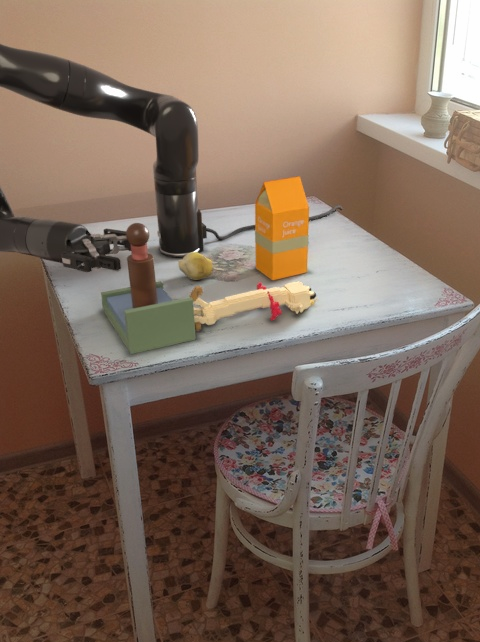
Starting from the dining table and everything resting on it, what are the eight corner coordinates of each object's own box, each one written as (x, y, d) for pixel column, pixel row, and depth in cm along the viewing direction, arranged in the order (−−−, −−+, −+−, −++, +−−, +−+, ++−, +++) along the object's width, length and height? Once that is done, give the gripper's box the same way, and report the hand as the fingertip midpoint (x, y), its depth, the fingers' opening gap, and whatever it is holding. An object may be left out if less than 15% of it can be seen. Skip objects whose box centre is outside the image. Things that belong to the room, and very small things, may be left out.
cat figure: (200, 343, 128) (326, 312, 134) (194, 300, 123) (324, 271, 129) (187, 319, 135) (306, 291, 142) (180, 278, 130) (304, 251, 137)
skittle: (153, 300, 131) (145, 217, 123) (161, 310, 128) (153, 225, 119) (129, 305, 130) (119, 221, 121) (136, 315, 126) (127, 229, 117)
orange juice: (307, 272, 152) (310, 180, 141) (272, 280, 148) (272, 187, 137) (289, 260, 158) (290, 171, 147) (254, 267, 154) (253, 176, 143)
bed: (162, 299, 140) (159, 262, 136) (195, 339, 126) (193, 299, 122) (103, 311, 135) (97, 272, 131) (131, 354, 122) (125, 313, 117)
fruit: (228, 280, 148) (182, 281, 144) (218, 277, 153) (174, 278, 149) (228, 252, 147) (182, 252, 143) (218, 251, 152) (174, 251, 148)
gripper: (28, 235, 122) (107, 249, 116) (79, 210, 133) (153, 222, 128) (36, 274, 126) (112, 290, 121) (85, 247, 137) (156, 261, 132)
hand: (133, 255), depth 124 cm, fingers open, 8 cm apart
